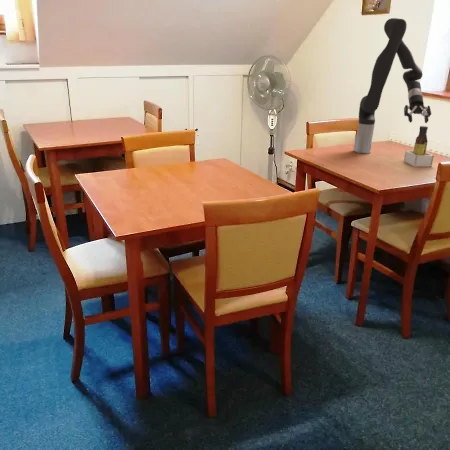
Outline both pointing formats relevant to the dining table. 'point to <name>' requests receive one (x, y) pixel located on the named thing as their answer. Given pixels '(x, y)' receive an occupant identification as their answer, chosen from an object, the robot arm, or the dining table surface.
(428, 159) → the bottle holder
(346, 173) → the dining table surface
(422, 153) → the sauce bottle
